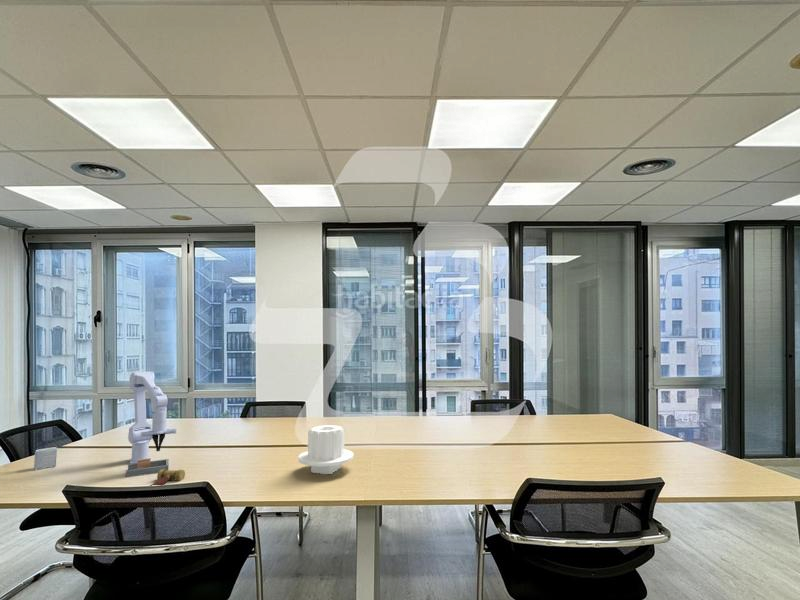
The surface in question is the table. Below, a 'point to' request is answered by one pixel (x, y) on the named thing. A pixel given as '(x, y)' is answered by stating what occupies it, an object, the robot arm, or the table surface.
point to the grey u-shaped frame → (147, 470)
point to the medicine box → (45, 458)
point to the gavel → (169, 476)
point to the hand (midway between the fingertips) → (158, 450)
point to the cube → (143, 463)
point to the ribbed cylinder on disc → (325, 449)
